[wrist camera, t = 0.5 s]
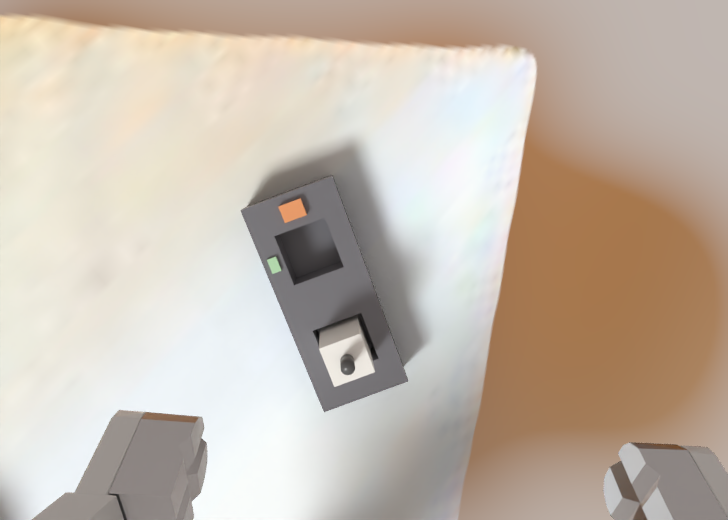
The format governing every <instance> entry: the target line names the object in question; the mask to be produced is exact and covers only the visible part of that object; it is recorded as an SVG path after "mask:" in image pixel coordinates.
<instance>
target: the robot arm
mask: <svg viewBox="0 0 728 520" xmlns="http://www.w3.org/2000/svg"><path fill="white" fill-rule="evenodd" d="M203 431H204V423H203V418H202V417H199V416H187V415H175V414H163V413H151V412H139V411H124V410H119V411H118V412H117V413H116V414H115V415H114V416H113V417H112V418H111V420H110V422H109V424H108V426H107V428H106V430H105V432H104V434H103V436H102V438H101V441H100V443H99V445H98V447H97V449H96V451H95V453H94V455H93V457H92V459H91V461H90V463H89V465H88V467H87V469H86V471H85V473H84V475H83V477H82V479H81V481H80V483H79V485H78V487H77V489H76V491H75V493H65V494H63V495H62V496H61V497H60V498H58V499H57V500H56V501H55V502H53V503H52V504H51V505H50V506H48V507H47V508H46V509H44V510H43V511H42V512H41V513H39V514H38V515H37V516H36V517H34V518H33V519H32V520H193V518H194V513H193V507H192V501H193V500H194V499H195V498H196V497H197V496H198V495H199V494H200V493H201V490H202V486H203V482H204V478H205V472H206V466H207V443H206V442H205V441H204V440H203V439H202V438H201V437H202V434H203ZM618 454H619V456H620V459H621V461H620V462H618V463H616V464H614V465H613V466H611V467H610V468H609V469H608V472H607V473H606V475H605V477H604V496H605V502H606V505H607V508H608V510H609V513H610V516H611V517H612V518H613V519H614V520H728V474H727V472H726V471H725V469H724V467H723V466H722V464H721V463H720V462H719V460H718V458H717V456H716V455H715V454H714V453H713V452H712V451H711V450H710V449H709V448H708V447H701V446H679V445H675V444H654V443H630V442H629V443H627V444H625V445H623V447H622V448H621V450H620V451H619V453H618Z"/></svg>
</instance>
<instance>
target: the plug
mask: <svg viewBox="0 0 728 520" xmlns="http://www.w3.org/2000/svg"><path fill="white" fill-rule="evenodd" d="M319 350H320V353H321V355H322V358H323V360H324V363H325V365H326V368H327V370H328V373H329V375H330V378H331V380H332V383H333V385H334V387H336V386H339V385H342V384H344V383H347V382H350V381H353V380H355V379H358V378H361V377H363V376H366V375H369V374H372V373H374V372H375V369H374V364H373V360H372V355H371V350H370V345H369V342H368V340H367V337H366V335H365V332H364V329H363V327H362V324H361V322H360V319H359V316H358V314H357V315H354V316H352V317H349V318H346V319H344V320H341V321H338V322H335V323H333V324H330V325H327V326H325V327H322V328H320V338H319Z"/></svg>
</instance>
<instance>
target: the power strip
mask: <svg viewBox="0 0 728 520" xmlns="http://www.w3.org/2000/svg"><path fill="white" fill-rule="evenodd" d="M241 213H242V215H243V217H244V220H245V222H246V225H247V227H248V229H249V232H250V234H251V237H252V239H253V242H254V244H255V246H256V249H257V251H258V254H259V256H260V258H261V261H262V263H263V266H264V268H265V271H266V273H267V275H268V278H269V280H270V283H271V285H272V287H273V290H274V292H275V295H276V297H277V299H278V302H279V304H280V307H281V309H282V312H283V314H284V316H285V319H286V321H287V324H288V326H289V328H290V331H291V333H292V336H293V338H294V341H295V343H296V345H297V348H298V350H299V353H300V355H301V357H302V360H303V362H304V365H305V367H306V369H307V372H308V374H309V377H310V379H311V382H312V384H313V386H314V389H315V391H316V394H317V396H318V398H319V401H320V403H321V406H322V408H323V411H324V412H326V411H328V410H331V409H334V408H337V407H339V406H342V405H345V404H348V403H350V402H353V401H356V400H358V399H361V398H364V397H367V396H369V395H372V394H375V393H377V392H380V391H383V390H386V389H388V388H391V387H394V386H396V385H399V384H402V383H405V382H407V381H408V379H407V376H406V373H405V370H404V367H403V365H402V362H401V359H400V357H399V354H398V351H397V349H396V346H395V343H394V340H393V338H392V335H391V332H390V330H389V327H388V324H387V322H386V319H385V316H384V314H383V311H382V308H381V305H380V303H379V300H378V297H377V295H376V292H375V289H374V287H373V284H372V281H371V279H370V276H369V273H368V270H367V268H366V265H365V262H364V260H363V257H362V254H361V252H360V249H359V246H358V244H357V241H356V238H355V235H354V233H353V230H352V227H351V225H350V222H349V219H348V217H347V214H346V211H345V209H344V206H343V203H342V200H341V198H340V195H339V192H338V190H337V187H336V184H335V182H334V179H333V176H332V175H331V176H328V177H326V178H323V179H320V180H318V181H315V182H312V183H309V184H307V185H304V186H301V187H299V188H296V189H293V190H291V191H288V192H285V193H282V194H280V195H277V196H274V197H272V198H269V199H266V200H264V201H261V202H258V203H256V204H253V205H250V206H247V207H245V208H244V209H242V210H241ZM357 314H358V316H359V319H360V322H361V324H362V327H363V329H364V332H365V335H366V337H367V340H368V342H369V345H370V350H371V355H372V360H373V364H374V369H375V372H374V373H372V374H369V375H366V376H363V377H361V378H358V379H355V380H353V381H350V382H347V383H344V384H342V385H339V386H336V387H334V385H333V383H332V380H331V378H330V375H329V373H328V370H327V368H326V365H325V363H324V360H323V358H322V355H321V353H320V350H319V338H320V328H322V327H325V326H327V325H330V324H333V323H335V322H338V321H341V320H344V319H346V318H349V317H352V316H354V315H357Z"/></svg>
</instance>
